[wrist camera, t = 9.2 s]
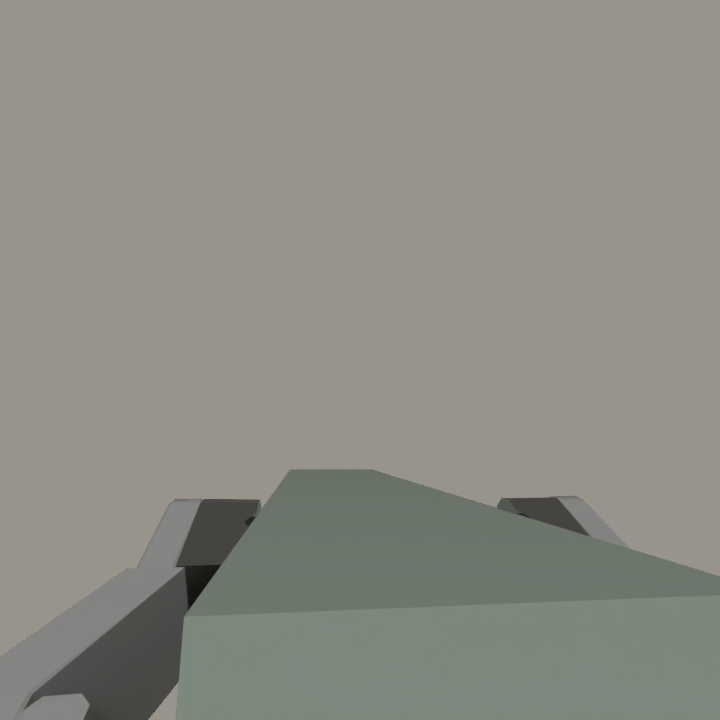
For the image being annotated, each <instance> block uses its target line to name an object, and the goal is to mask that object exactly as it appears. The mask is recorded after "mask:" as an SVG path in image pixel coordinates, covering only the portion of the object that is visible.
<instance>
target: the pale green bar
mask: <svg viewBox="0 0 720 720" xmlns="http://www.w3.org/2000/svg"><path fill="white" fill-rule="evenodd" d="M178 685H179V686H178V696H177V697H178V698H177V709H176V720H720V576H717V575H713V574H710V573H707V572H704V571H700V570H697V569H694V568H691V567H687V566H684V565H680V564H677V563H674V562H671V561H668V560H664V559H661V558H658V557H655V556H651V555H648V554H645V553H641V552H638V551H635V550H632V549H629V548H625V547H622V546H619V545H616V544H612V543H609V542H606V541H603V540H599V539H596V538H593V537H590V536H586V535H583V534H580V533H577V532H573V531H570V530H567V529H564V528H560V527H557V526H554V525H550V524H547V523H544V522H541V521H537V520H534V519H531V518H528V517H524V516H521V515H518V514H514V513H511V512H508V511H504V510H501V509H498V508H495V507H492V506H489V505H485V504H482V503H478V502H475V501H472V500H469V499H466V498H462V497H459V496H456V495H453V494H449V493H446V492H443V491H440V490H436V489H433V488H430V487H427V486H423V485H420V484H417V483H413V482H410V481H407V480H404V479H400V478H397V477H394V476H390V475H388V474H384V473H381V472H378V471H374V470H290V471H289V472H288V473H287V475H286V476H285V478H284V479H283V480H282V482H281V483H280V485H279V486H278V487H277V489H276V490H275V491H274V493H273V494H272V496H271V497H270V498H269V500H268V501H267V503H266V504H265V505H264V507H263V508H262V509H261V511H260V513H259V514H258V516H257V517H256V518H255V519H254V521H253V522H252V523H251V525H250V526H249V527H248V529H247V530H246V532H245V533H244V534H243V536H242V537H241V539H240V540H239V541H238V543H237V544H236V545H235V547H234V548H233V550H232V551H231V552H230V554H229V555H228V557H227V558H226V559H225V561H224V562H223V564H222V565H221V566H220V568H219V569H218V570H217V572H216V573H215V575H214V576H213V577H212V579H211V580H210V582H209V583H208V584H207V586H206V587H205V588H204V590H203V591H202V593H201V594H200V595H199V597H198V598H197V600H196V601H195V602H194V604H193V605H192V606H191V608H190V609H189V611H188V612H187V613H186V615H185V616H184V624H183V636H182V648H181V660H180V672H179V684H178Z"/></svg>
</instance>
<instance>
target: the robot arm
mask: <svg viewBox="0 0 720 720" xmlns="http://www.w3.org/2000/svg"><path fill="white" fill-rule="evenodd" d="M497 508H498V509H501V510H504V511H508V512H511V513H514V514H518V515H521V516H524V517H528V518H531V519H534V520H537V521H541V522H544V523H547V524H550V525H554V526H557V527H560V528H564V529H567V530H570V531H573V532H577V533H580V534H583V535H586V536H590V537H593V538H596V539H599V540H603V541H606V542H609V543H612V544H616V545H619V546H622V547H625V548H629V547H628V546H627V544H626V543H625V542H624V541H623V540H622V539H621V538H620V537H619V536H618V535H617V534H616V533H615V532H614V531H613V530H612V529H611V528H610V527H609V526H608V525H607V524H606V523H605V522H604V521H603V520H602V519H601V518H600V517H599V516H598V515H597V514H596V513H595V512H594V510H593V509H592V508H591V507H590V506H589V505H588V504H587V503H586V502H585V501H584V500H583V499H581V498H579V497H576V496H557V497H550V498H502V499H501V500H500V502H499V504H498V505H497ZM260 511H261V502H260V500H238V499H237V500H235V499H234V500H233V499H204V500H202V499H175V500H174V501H172V502H171V503H170V504H169V506H168V508H167V510H166V512H165V514H164V516H163V517H162V519H161V521H160V523H159V525H158V527H157V529H156V531H155V533H154V535H153V537H152V539H151V541H150V543H149V545H148V547H147V549H146V551H145V553H144V555H143V557H142V558H141V561H140V562H139V565H138V566H137V568H133V569H132V568H131V569H125V570H124V571H123V572H121V573H120V574H118V575H117V576H115V577H114V578H113V579H111V580H110V581H108V582H107V583H105V584H104V585H102V586H101V587H100V588H98V589H97V590H95V591H94V592H93V593H91V594H90V595H88V596H87V597H85V598H84V599H82V600H81V601H79V602H78V603H77V604H75V605H74V606H72V607H71V608H69V609H68V610H67V611H65V612H64V613H62V614H61V615H60V616H58V617H56V618H55V619H54V620H52V621H51V622H49V623H48V624H47V625H45V626H44V627H42V628H41V629H39V630H38V631H37V632H35V633H34V634H32V635H31V636H29V637H28V638H26V639H25V640H23V641H22V642H21V643H19V644H18V645H16V646H15V647H13V648H12V649H11V650H9V651H8V652H7V653H5V654H4V655H2V656H1V657H0V720H148V719H149V718H150V717H151V715H152V714H153V713H154V712H155V710H156V709H157V708H158V707H159V705H160V704H161V703H162V702H163V700H164V699H165V698H166V697H167V695H168V694H169V693H170V692H171V690H172V689H173V688H174V687H175V685H176V684H177V683H178V682H179V672H180V660H181V648H182V636H183V624H184V616H185V615H186V613H187V612H188V611H189V609H190V608H191V606H192V605H193V604H194V602H195V601H196V600H197V598H198V597H199V595H200V594H201V593H202V591H203V590H204V588H205V587H206V586H207V584H208V583H209V582H210V580H211V579H212V577H213V576H214V575H215V573H216V572H217V570H218V569H219V568H220V566H221V565H222V564H223V562H224V561H225V559H226V558H227V557H228V555H229V554H230V552H231V551H232V550H233V548H234V547H235V545H236V544H237V543H238V541H239V540H240V539H241V537H242V536H243V534H244V533H245V532H246V530H247V529H248V527H249V526H250V525H251V523H252V522H253V521H254V519H255V518H256V517H257V516H258V514H259V513H260ZM629 549H630V548H629Z"/></svg>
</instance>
